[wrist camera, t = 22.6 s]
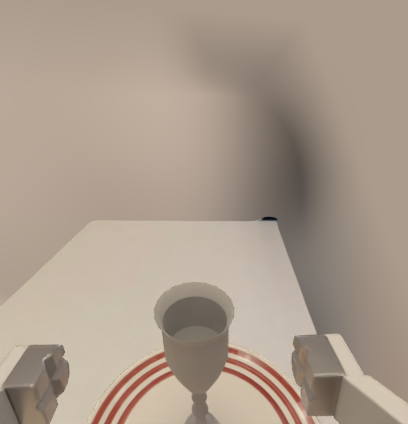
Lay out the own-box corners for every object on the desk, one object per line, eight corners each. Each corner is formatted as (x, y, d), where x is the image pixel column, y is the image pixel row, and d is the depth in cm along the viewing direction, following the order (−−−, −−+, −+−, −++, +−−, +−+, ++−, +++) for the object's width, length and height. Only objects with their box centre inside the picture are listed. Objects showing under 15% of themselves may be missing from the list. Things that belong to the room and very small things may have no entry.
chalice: (244, 463, 29) (249, 328, 22) (179, 490, 27) (162, 353, 20) (218, 396, 36) (216, 275, 29) (164, 415, 34) (148, 291, 27)
